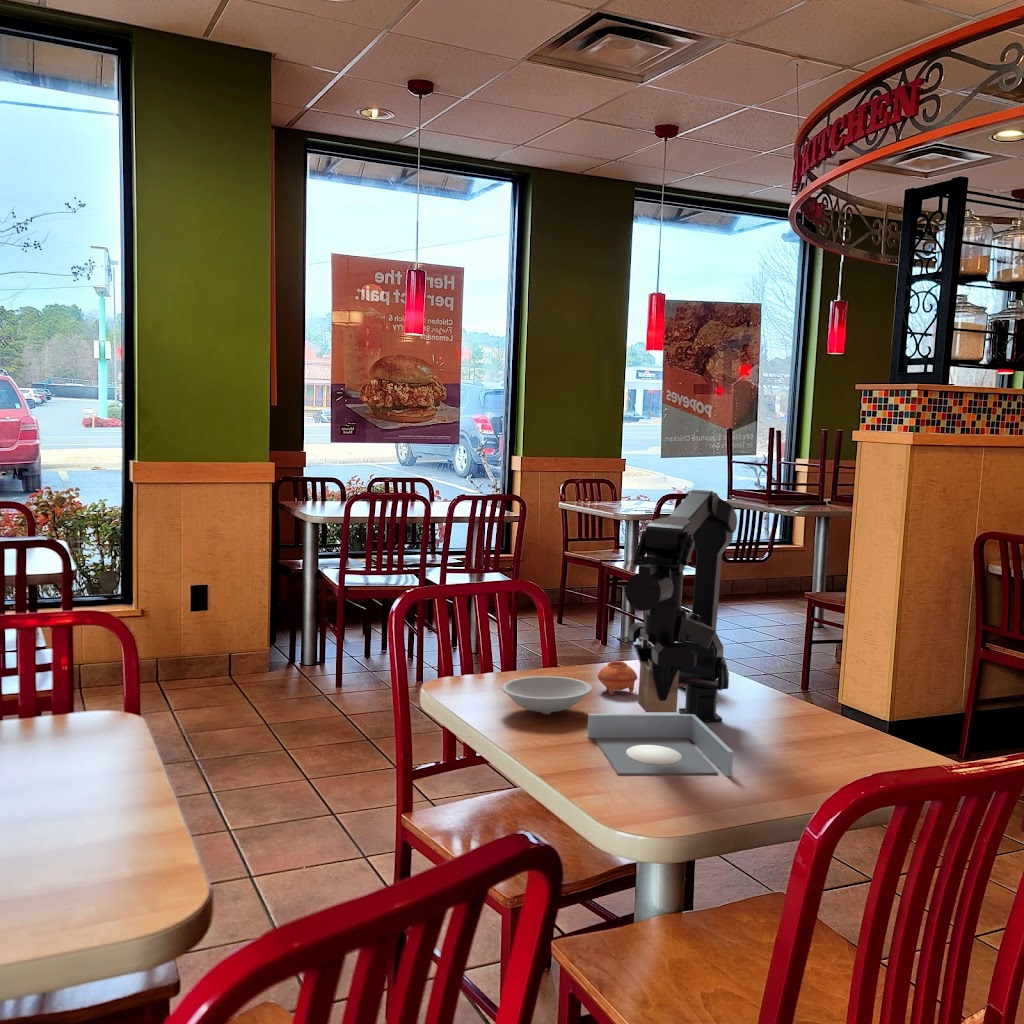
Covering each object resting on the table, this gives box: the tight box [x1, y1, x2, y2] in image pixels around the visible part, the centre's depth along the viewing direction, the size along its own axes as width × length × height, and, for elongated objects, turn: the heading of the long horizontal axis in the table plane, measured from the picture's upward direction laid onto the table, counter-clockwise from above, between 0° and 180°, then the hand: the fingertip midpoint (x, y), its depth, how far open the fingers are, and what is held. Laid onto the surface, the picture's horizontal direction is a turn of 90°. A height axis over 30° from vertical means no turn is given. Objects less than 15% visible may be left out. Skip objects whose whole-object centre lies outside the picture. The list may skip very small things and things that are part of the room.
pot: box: [597, 660, 638, 696], centre depth 193 cm, size 8×8×7 cm
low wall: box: [586, 713, 734, 778], centre depth 157 cm, size 19×19×4 cm
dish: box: [501, 675, 593, 715], centre depth 177 cm, size 18×14×5 cm
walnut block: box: [637, 661, 679, 713], centre depth 155 cm, size 5×5×7 cm
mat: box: [594, 738, 719, 776], centre depth 156 cm, size 16×16×1 cm
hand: (657, 695), depth 156 cm, fingers closed on walnut block, 5 cm apart
